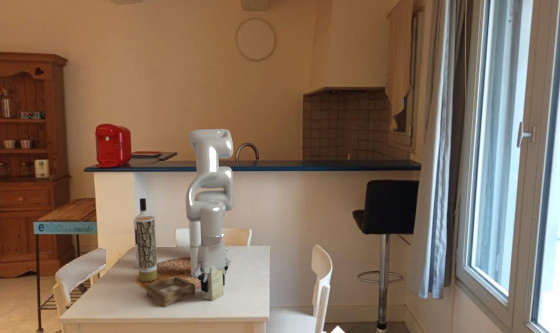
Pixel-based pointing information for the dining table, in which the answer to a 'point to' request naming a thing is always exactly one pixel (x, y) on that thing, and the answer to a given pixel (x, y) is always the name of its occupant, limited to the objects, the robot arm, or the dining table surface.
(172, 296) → the brown wooden square tray
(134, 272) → the dining table surface
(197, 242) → the cylindrical container
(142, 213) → the vodka
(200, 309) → the dining table surface
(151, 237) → the paper tube
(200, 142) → the robot arm
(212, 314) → the dining table surface
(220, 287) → the skincare box
